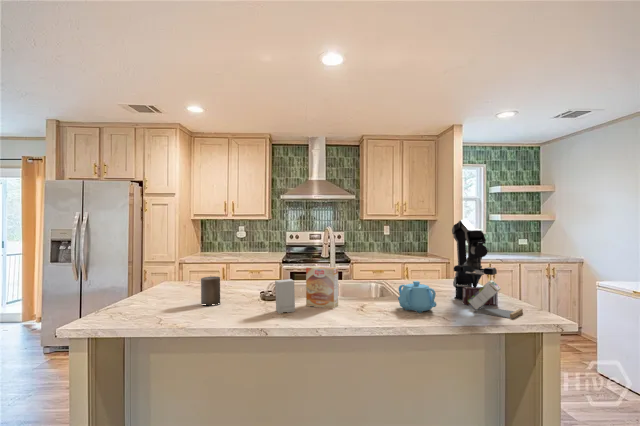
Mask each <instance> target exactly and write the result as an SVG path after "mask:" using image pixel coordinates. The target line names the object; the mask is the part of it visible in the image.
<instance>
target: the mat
mask: <svg viewBox="0 0 640 426" xmlns="http://www.w3.org/2000/svg"><path fill="white" fill-rule="evenodd" d="M523 311H524V310H523V308H518V309H516V310H514V311H513V310H508V309H503V308H496V307H495V308H494V307H491V306H489V307H487V306H482V307H480V308H479V309H477V310H476V309H475V310H473V313H476V314H477V313H478V314H484V315H487V316H494V317H500V318H506V319H510V318H511V320H513V319H515V317H516V318H517V317H520V316H521V315H523V314H522V313H524V312H523Z"/></svg>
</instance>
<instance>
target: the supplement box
mask: <svg viewBox="0 0 640 426" xmlns="http://www.w3.org/2000/svg"><path fill="white" fill-rule="evenodd" d="M482 287H483V286H477V287H476V288H474V287H473V286H472V287H463V299H462V304H464V305H465V306H472V305H471V304H470V303H469V302H468V300H469V299H470V298H471V297H472V296H473V295H474V294H475V293H477V292H478V291H479V290H480V289H481V288H482ZM498 292H499V291H498ZM498 292H497V293H496V294H495V295H494V296H493V297H492V298H490V299H489V300H488V301H487V302H486V303H485V304H484V305H483V306H491V307H492V306H498V304H499V302H498V300H499V298H498V294H499V293H498Z"/></svg>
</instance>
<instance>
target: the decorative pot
mask: <svg viewBox="0 0 640 426" xmlns="http://www.w3.org/2000/svg"><path fill="white" fill-rule="evenodd" d="M398 293H399V296H398V298H397V299H398V302H399V306H400V307H401V308H402V309H404V311H407V310H409V311H414V312H415V311H416V313H419V314H422V313H423V312H426V311H429V310H432V309H433V308H436V307H437V302H436V301H435V299H436V296H437V295H436V294H437V293H436V291H435V289H434V288H432V287H430V286H429V285H428V284H421V282H420V281H418V280H414V281H412V283H408V284H401V285H399V286H398Z"/></svg>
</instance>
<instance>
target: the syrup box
mask: <svg viewBox="0 0 640 426" xmlns="http://www.w3.org/2000/svg"><path fill="white" fill-rule="evenodd" d="M481 287H482V288H481V289H480V290H479V291H478V292H477V293H475V294H474V295H473V296H472V297H471V298H470V299H469V300H468V302H469V303H470V304H471V305H470V306H472V307H473V308H474V309H475V311H476V310H478V309H481V308H483V307H484V306H485V305H484V304H485V303H486V302H487V301H488V300H489V299H490V298H492V297H493V296H494V295H495V294H496V293H497V292H499V291H500V290H502V289H501V286H500V285H499V284H497V283H496V282H495V281H494V280H493V279H491V280H489V281H487V282H486V283H485V284H484V285H483V286H481Z"/></svg>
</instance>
